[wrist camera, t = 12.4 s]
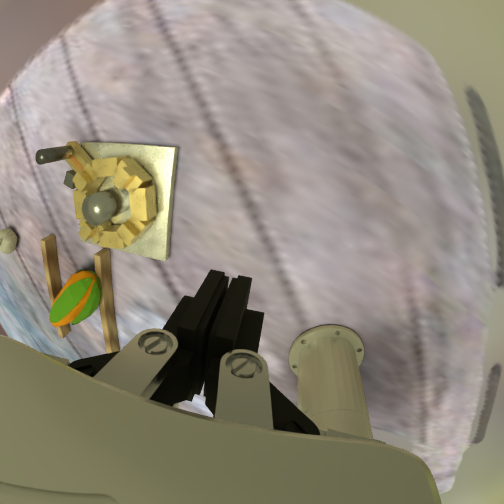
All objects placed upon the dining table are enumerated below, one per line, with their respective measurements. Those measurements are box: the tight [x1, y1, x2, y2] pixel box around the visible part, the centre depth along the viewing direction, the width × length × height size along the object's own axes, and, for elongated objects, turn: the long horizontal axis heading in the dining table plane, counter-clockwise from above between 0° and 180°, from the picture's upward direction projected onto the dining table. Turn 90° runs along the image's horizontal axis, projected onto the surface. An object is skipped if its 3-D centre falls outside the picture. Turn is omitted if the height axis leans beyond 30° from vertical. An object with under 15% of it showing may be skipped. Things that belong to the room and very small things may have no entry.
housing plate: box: [64, 142, 179, 261], centre depth 36 cm, size 16×17×8 cm
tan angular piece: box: [36, 141, 157, 249], centre depth 33 cm, size 18×12×8 cm
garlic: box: [0, 228, 17, 254], centre depth 43 cm, size 6×5×5 cm
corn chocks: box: [41, 235, 120, 353], centre depth 46 cm, size 22×14×3 cm, turn 171°
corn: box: [49, 270, 101, 327], centre depth 44 cm, size 7×8×20 cm
